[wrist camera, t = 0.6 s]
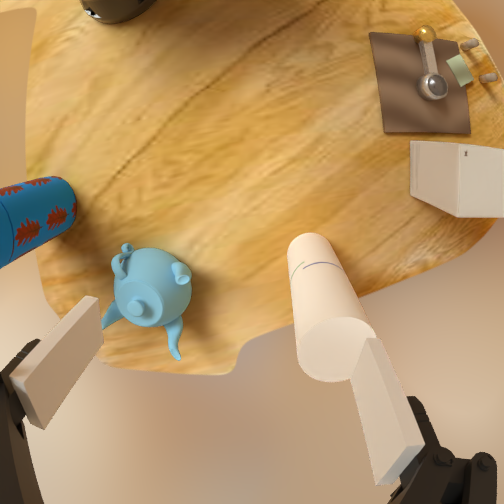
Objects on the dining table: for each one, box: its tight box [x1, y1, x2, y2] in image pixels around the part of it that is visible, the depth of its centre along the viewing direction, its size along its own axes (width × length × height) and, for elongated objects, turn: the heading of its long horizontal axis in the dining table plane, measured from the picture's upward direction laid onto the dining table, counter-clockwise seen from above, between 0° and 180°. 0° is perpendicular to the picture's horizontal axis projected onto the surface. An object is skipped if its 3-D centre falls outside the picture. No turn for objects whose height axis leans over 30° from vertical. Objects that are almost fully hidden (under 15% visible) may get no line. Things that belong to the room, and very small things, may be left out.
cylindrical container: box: [287, 233, 377, 382], centre depth 38 cm, size 7×7×25 cm
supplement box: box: [410, 140, 504, 218], centre depth 37 cm, size 9×9×15 cm
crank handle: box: [413, 25, 448, 101], centre depth 36 cm, size 12×4×4 cm, turn 7°
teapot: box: [101, 243, 192, 361], centre depth 48 cm, size 15×15×10 cm
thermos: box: [0, 176, 77, 269], centre depth 38 cm, size 11×11×25 cm
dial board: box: [369, 32, 497, 134], centre depth 37 cm, size 16×21×4 cm
